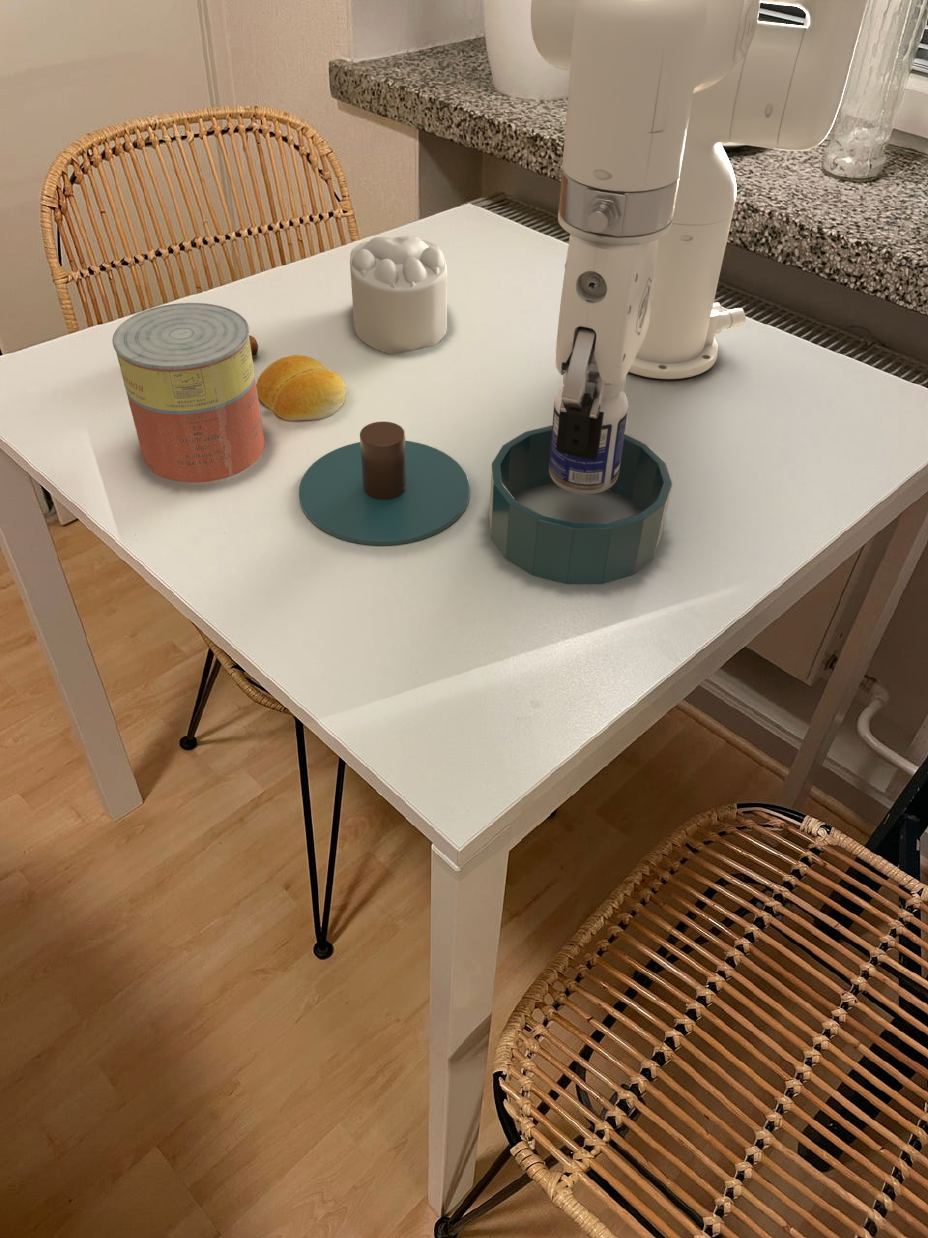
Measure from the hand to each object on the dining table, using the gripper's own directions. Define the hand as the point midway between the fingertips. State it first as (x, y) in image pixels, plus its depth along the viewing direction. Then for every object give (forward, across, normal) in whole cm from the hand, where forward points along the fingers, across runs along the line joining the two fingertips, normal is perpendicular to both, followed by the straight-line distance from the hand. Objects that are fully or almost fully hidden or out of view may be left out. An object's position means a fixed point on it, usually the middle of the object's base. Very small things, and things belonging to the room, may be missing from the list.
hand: (588, 429), depth 75 cm
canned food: (+10, -2, +35) cm, 37 cm away
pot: (+10, -1, 0) cm, 10 cm away
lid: (+9, -2, +17) cm, 20 cm away
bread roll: (+10, +9, +31) cm, 34 cm away
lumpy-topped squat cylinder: (+11, +27, +28) cm, 41 cm away
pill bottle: (+5, 0, 0) cm, 5 cm away
